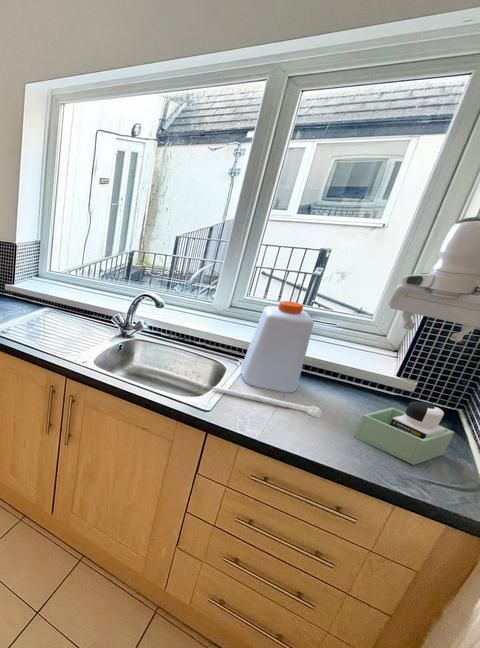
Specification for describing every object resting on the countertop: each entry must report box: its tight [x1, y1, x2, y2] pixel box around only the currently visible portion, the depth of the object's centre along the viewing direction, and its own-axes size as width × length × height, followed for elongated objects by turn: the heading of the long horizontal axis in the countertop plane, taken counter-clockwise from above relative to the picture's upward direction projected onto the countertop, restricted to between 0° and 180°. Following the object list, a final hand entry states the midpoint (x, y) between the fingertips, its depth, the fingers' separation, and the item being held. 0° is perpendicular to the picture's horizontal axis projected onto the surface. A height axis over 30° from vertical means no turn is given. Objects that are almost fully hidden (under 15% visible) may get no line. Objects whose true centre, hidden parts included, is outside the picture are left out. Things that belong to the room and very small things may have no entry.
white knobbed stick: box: [212, 386, 323, 418], centre depth 128 cm, size 28×4×3 cm, turn 59°
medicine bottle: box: [390, 401, 447, 439], centre depth 105 cm, size 7×7×12 cm
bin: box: [354, 407, 455, 466], centre depth 108 cm, size 13×13×7 cm
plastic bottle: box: [240, 300, 315, 394], centre depth 137 cm, size 15×15×28 cm
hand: (430, 334), depth 110 cm, fingers open, 8 cm apart
